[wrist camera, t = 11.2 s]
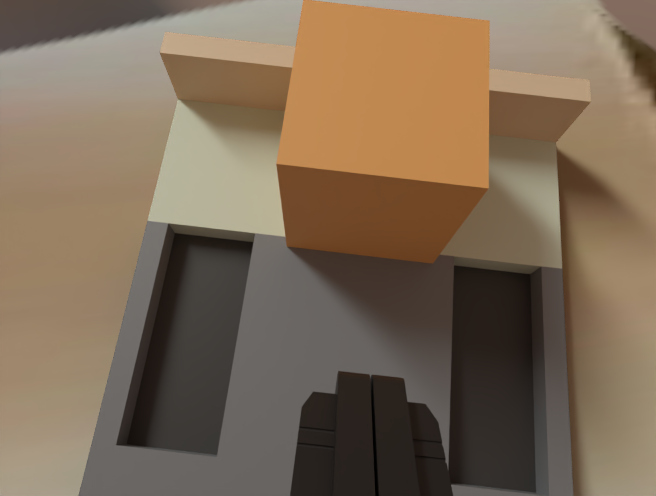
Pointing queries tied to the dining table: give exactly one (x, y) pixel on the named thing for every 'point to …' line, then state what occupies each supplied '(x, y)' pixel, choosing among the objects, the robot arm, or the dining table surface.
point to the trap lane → (332, 302)
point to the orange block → (383, 131)
